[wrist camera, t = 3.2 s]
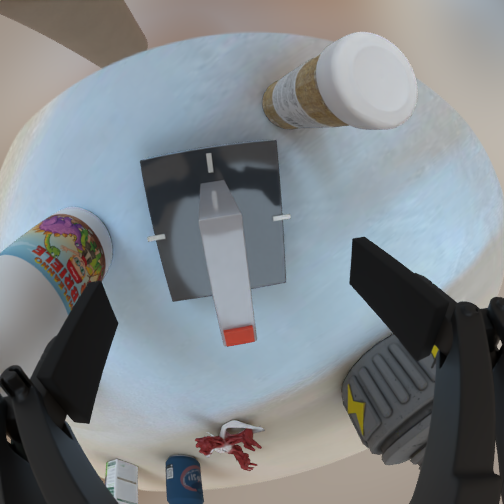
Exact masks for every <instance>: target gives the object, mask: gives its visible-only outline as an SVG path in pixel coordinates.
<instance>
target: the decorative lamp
mask: <svg viewBox="0 0 504 504" xmlns="http://www.w3.org/2000/svg"><path fill="white" fill-rule="evenodd" d="M438 350H439V349H438V348H437V347H436V346H435V345H434V347H433V349H432V351H431V354H430V355H429V356H428V357H426V358H424V359H421V360H419V361H416V360H415V359H414V357H413V356H412V355H411V354H410V353H409V351H408V350H407V349H406V348H405V347H404V345H403V344H402V343H401V342H400V341H399V339H398V338H397V337H396V336H395V335H394V334H393V335H391V336H389V337H388V338H386V339H384V340H383V341H381V342H379V343H378V344H377V345H375V346H374V347H373V348H372V349H370V350H369V351H368V352H367V353H365V354H364V355H363V356H362V357H361V358H360V360H359V361H358V362H357V363H356V364H355V365H354V366H353V367H352V369H351V370H350V372H349V373H348V375H347V377H346V378H345V380H344V383H343V387H342V398H343V405H344V407H345V409H346V411H347V413H348V415H349V417H350V419H351V421H352V423H353V425H354V427H355V429H356V431H357V433H358V435H359V437H360V439H361V441H362V443H363V444H364V445H365V446H366V447H367V448H369V449H370V451H371V452H372V454H378V455H380V454H382V460H383V462H384V464H385V465H393V464H400V463H403V462H405V461H407V460H410V459H411V460H410V461H411V462H412V463H413V464H418V465H419V466H420V467H419V469H420V470H421V466H422V462H423V458H424V454H425V449H426V444H427V439H428V434H429V428H430V422H431V415H432V407H433V398H434V388H435V375H436V364H435V365H434V367H433V368H431V366H432V363H433V361H434V359H435V357H436V354H437V352H438Z"/></svg>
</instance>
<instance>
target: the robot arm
mask: <svg viewBox="0 0 504 504" xmlns="http://www.w3.org/2000/svg"><path fill="white" fill-rule="evenodd" d="M349 284H350V285H351V286H352V287H353V288H354V289H355V290H356V291H357V292H358V294H359V295H360V296H361V297H362V298H363V299H364V300H365V301H366V303H367V304H368V305H369V306H370V307H371V308H372V309H373V310H374V312H375V313H376V314H377V315H378V316H379V317H380V318H381V320H382V321H383V322H384V323H385V324H386V325H387V326H388V328H389V329H390V330H391V331H392V332H393V333H394V335H395V336H396V337H397V338H398V339H399V341H400V342H401V343H402V344H403V345H404V347H405V348H406V349H407V350H408V351H409V353H410V354H411V355H412V356H413V357H414V359H415V360H416V361H419V360H421V359H424V358H426V357H428V356H429V355H430V354H431V351H432V349H433V347H434V345H435V346H436V347H437V348H438V349H439V350H438V352H437V354H436V357H435V359H434V361H433V363H432V366H431V368H433V367H434V365H435V364H436V375H435V388H434V398H433V407H432V415H431V422H430V428H429V434H428V439H427V444H426V449H425V454H424V458H423V462H422V466H421V470H420V474H419V478H418V481H417V484H416V488H415V491H414V494H413V497H412V499H411V501H410V503H409V504H499V501H500V496H502V502H503V504H504V298H502V297H494V298H492V299H491V301H490V304H489V306H488V308H484V309H479V308H478V307H477V306H476V305H474V304H473V303H470V302H459V303H457V302H455V301H454V300H453V299H452V298H451V297H449V296H448V295H447V294H446V293H445V292H443V291H442V290H441V289H440V288H438V287H437V286H436V285H435V284H432V282H431V281H430V280H428V279H427V278H426V277H424V276H422V275H419V274H417V273H413V272H412V271H410V270H409V269H408V268H406V267H405V266H404V265H403V264H401V263H400V262H399V261H397V260H396V259H395V258H393V257H392V256H391V255H389V254H388V253H386V252H385V251H384V250H382V249H381V248H380V247H378V246H377V245H375V244H374V243H373V242H371V241H370V240H368V239H367V238H366V237H360V238H354V239H352V256H351V271H350V283H349ZM117 326H118V321H117V319H116V317H115V314H114V312H113V310H112V307H111V305H110V303H109V300H108V298H107V295H106V292H105V290H104V287H103V285H102V282H101V280H100V281H94V282H89V283H88V284H87V286H86V287H85V289H84V290H83V292H82V294H81V295H80V297H79V298H78V300H77V302H76V303H75V305H74V307H73V308H72V310H71V312H70V313H69V315H68V317H67V318H66V320H65V322H64V324H63V325H62V327H61V329H60V331H59V333H58V334H57V336H54V338H53V339H52V340H51V341H50V342H49V343H48V344H47V346H46V348H45V350H44V353H43V354H42V355H41V357H40V360H39V361H38V363H37V365H36V367H35V369H34V372H33V374H32V376H31V378H30V379H29V378H28V376H27V375H26V374H25V372H24V371H23V369H22V368H21V367H20V366H18V365H12V366H10V367H8V368H7V369H5V370H4V371H3V373H2V374H1V376H0V387H1V388H2V389H3V390H4V392H5V393H6V394H7V395H8V396H6V397H3V396H2V395H1V394H0V504H119V503H118V502H117V501H116V499H115V498H114V497H113V495H112V494H111V493H110V491H109V490H108V489H107V487H106V486H105V484H104V483H103V481H102V480H101V479H100V477H99V476H98V474H97V473H96V471H95V470H94V468H93V466H92V465H91V463H90V462H89V460H88V458H87V457H86V455H85V453H84V452H83V450H82V448H81V446H80V445H79V443H78V441H77V439H76V437H75V435H74V434H73V432H72V430H71V428H70V426H69V424H68V423H67V422H66V421H65V419H66V415H68V416H69V417H70V418H71V419H72V420H73V421H74V422H77V423H87V424H89V423H90V419H91V415H92V410H93V406H94V402H95V398H96V394H97V391H98V387H99V383H100V380H101V376H102V373H103V369H104V366H105V363H106V359H107V356H108V353H109V350H110V347H111V344H112V341H113V338H114V335H115V332H116V329H117ZM499 340H501V342H502V346H501V348H500V350H498V348H497V344H498V343H499ZM6 435H8V436H9V437H10V438H11V444H10V443H9V442H8V441H7V439H6ZM495 441H496V447H497V453H498V462H499V472H500V476H499V475H497V474H494V471H493V464H494V453H495Z"/></svg>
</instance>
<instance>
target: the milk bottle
mask: <svg viewBox="0 0 504 504" xmlns="http://www.w3.org/2000/svg"><path fill="white" fill-rule="evenodd" d="M112 255H113V248H112V242H111V238H110V235H109V233H108V231H107V228H106V227H105V226H104V224H103V222H102V221H101V220H100V219H99V218H98V217H97V216H95V215H94V214H93V213H91V212H89V211H87V210H85V209H83V208H79V207H68V208H64V209H62V210H60V211H58V212H56V213H54V214H53V215H51V216H50V217H48V218H47V219H45V220H44V221H42V222H41V223H39V224H38V225H36V226H35V227H33V228H32V229H31V230H29V231H28V232H26V233H25V234H24V235H22V236H21V237H20V238H18V239H17V240H16V241H14V242H13V243H12V244H11V245H9V246H8V247H7V248H6V249H4V250H3V251H2V252H1V253H0V376H1V374H2V373H3V371H4V370H5V369H7V368H8V367H10V366H12V365H18V366H20V367H21V368H22V369H23V371H24V372H25V374H26V375H27V376H28V378H29V379H30V378H31V376H32V374H33V372H34V369H35V367H36V365H37V363H38V361H39V360H40V357H41V355H42V354H43V353H44V350H45V348H46V346H47V344H48V343H49V342H50V341H51V340H52V339H53V338H54V336H57V334H58V333H59V331H60V329H61V327H62V325H63V324H64V322H65V320H66V318H67V317H68V315H69V313H70V312H71V310H72V308H73V307H74V305H75V303H76V302H77V300H78V298H79V297H80V295H81V294H82V292H83V290H84V289H85V287H86V286H87V284H88V283H89V282H94V281H100V280H101V282H102V280H103V278H104V277H105V275H106V273H107V271H108V269H109V267H110V265H111V261H112ZM0 394H1V395H2V396H3V397H6V396H8V395H7V394H6V393H5V392H4V390H3V389H2V388H1V387H0Z"/></svg>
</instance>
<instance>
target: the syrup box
mask: <svg viewBox="0 0 504 504" xmlns="http://www.w3.org/2000/svg"><path fill="white" fill-rule="evenodd" d="M105 486H106V487H107V489H108V490H109V491H110V493H111V494H112V495H113V497H114V498H115V499H116V501H117V502H118V503H119V504H138V467H137V466H135V465H133V464H130V463H128V462H125V461H122V460H119V459H115V460H112V461H110V462H107V463H106V477H105Z"/></svg>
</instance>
